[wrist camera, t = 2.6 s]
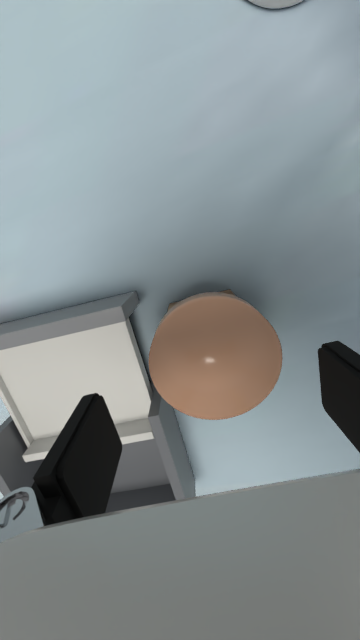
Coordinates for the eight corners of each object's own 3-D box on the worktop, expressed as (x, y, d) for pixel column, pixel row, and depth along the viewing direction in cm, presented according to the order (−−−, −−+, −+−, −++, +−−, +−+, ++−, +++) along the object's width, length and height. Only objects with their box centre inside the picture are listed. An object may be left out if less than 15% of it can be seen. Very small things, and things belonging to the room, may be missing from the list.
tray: (174, 419, 24) (172, 462, 19) (34, 446, 25) (0, 492, 20) (136, 290, 20) (120, 305, 15) (-26, 330, 21) (-84, 354, 17)
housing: (195, 480, 26) (196, 533, 22) (65, 501, 28) (40, 556, 23) (164, 378, 23) (158, 415, 18) (17, 408, 24) (-25, 450, 19)
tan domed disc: (261, 278, 15) (272, 284, 13) (278, 388, 17) (289, 406, 15) (138, 308, 16) (131, 317, 14) (169, 409, 18) (167, 429, 16)
